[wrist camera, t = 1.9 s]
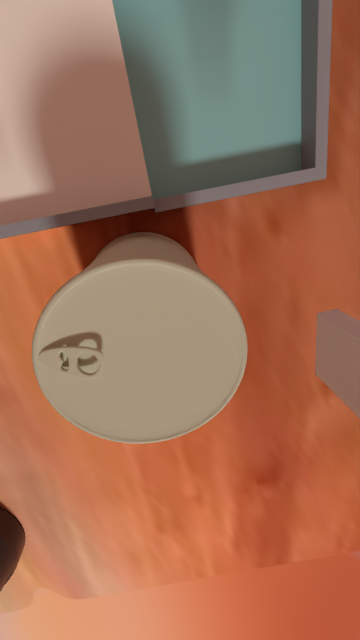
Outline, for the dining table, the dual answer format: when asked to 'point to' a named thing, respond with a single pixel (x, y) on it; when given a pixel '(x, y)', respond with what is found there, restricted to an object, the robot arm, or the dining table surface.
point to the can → (140, 343)
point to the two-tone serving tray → (156, 104)
